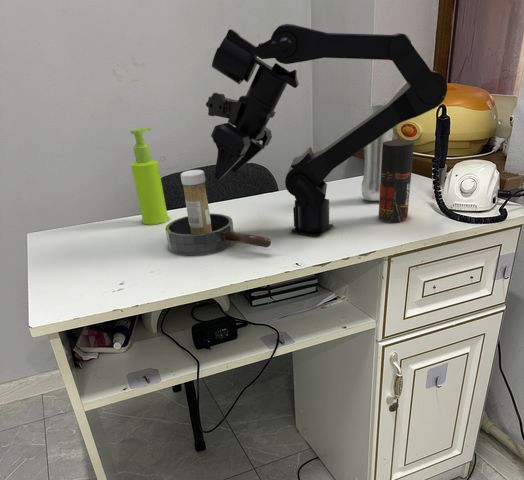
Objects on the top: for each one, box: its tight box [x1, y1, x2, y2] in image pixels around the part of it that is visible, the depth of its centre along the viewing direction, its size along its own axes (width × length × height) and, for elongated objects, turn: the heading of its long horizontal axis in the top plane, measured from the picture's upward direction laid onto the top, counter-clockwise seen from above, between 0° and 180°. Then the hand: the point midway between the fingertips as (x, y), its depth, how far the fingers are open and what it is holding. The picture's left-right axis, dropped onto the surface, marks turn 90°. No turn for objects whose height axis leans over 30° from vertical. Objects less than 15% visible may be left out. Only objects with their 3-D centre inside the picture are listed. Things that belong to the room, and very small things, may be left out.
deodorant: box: [377, 139, 415, 224], centre depth 99 cm, size 6×6×15 cm
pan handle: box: [221, 229, 272, 248], centre depth 92 cm, size 11×2×2 cm, turn 54°
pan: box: [165, 213, 235, 256], centre depth 98 cm, size 13×13×4 cm
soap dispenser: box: [130, 126, 169, 226], centre depth 110 cm, size 6×7×20 cm
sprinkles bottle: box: [180, 169, 212, 235], centre depth 96 cm, size 5×5×14 cm
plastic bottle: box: [360, 104, 394, 202], centre depth 110 cm, size 6×7×20 cm
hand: (225, 174), depth 97 cm, fingers open, 9 cm apart
